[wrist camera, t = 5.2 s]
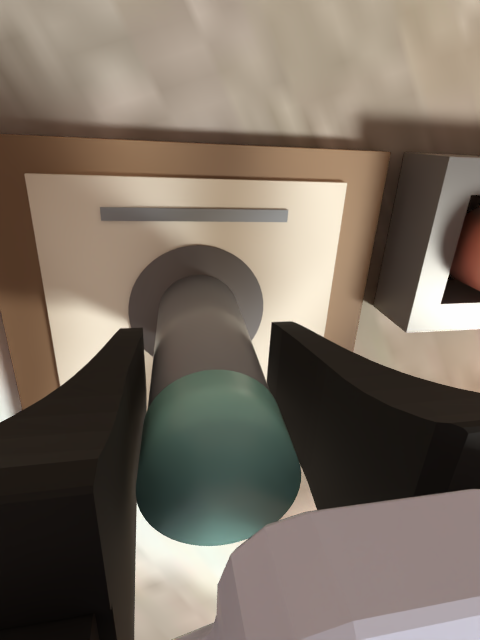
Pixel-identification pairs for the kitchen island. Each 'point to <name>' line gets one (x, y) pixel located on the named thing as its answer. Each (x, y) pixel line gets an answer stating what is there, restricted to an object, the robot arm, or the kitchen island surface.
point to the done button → (468, 252)
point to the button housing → (429, 245)
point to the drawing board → (175, 241)
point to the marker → (211, 425)
